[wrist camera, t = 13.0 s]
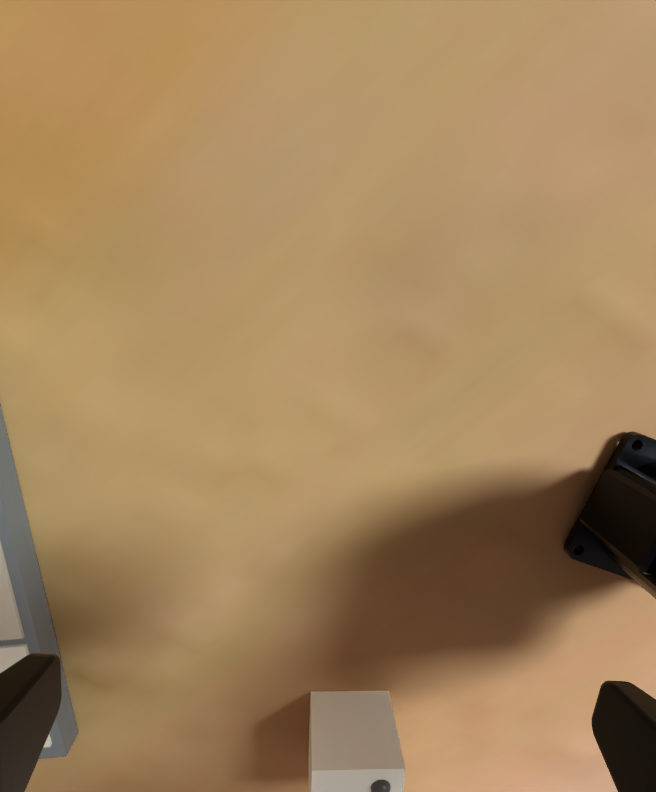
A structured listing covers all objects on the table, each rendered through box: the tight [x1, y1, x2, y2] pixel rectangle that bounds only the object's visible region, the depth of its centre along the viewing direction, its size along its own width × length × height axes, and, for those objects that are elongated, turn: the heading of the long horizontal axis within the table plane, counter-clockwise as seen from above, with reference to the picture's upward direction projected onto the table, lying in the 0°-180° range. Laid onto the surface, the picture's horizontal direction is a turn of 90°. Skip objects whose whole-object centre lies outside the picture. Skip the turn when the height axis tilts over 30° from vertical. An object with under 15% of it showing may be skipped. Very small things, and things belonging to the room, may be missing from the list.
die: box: [308, 691, 405, 792], centre depth 22 cm, size 4×4×4 cm
